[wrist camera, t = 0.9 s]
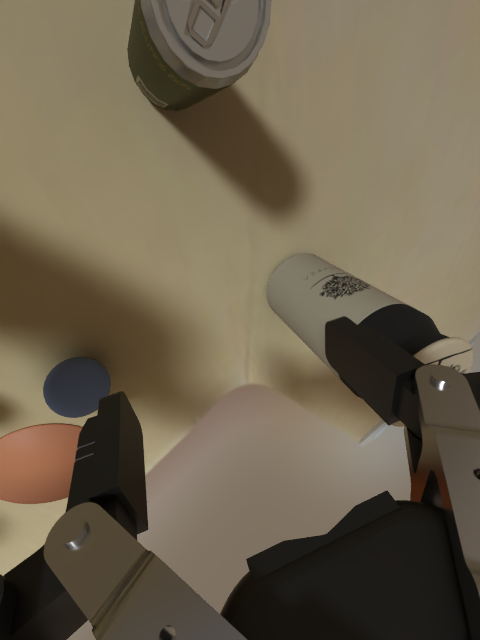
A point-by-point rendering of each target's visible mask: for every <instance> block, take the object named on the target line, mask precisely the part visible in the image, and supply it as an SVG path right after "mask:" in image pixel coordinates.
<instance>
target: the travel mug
mask: <svg viewBox="0 0 480 640" xmlns="http://www.w3.org/2000/svg"><path fill="white" fill-rule="evenodd" d="M267 299H268V303H269V305H270V307H271V309H272V310H273V311H274V312H275V313H276V314H277V315H278V316H279V317H280V318H281V319H282V320H283V321H284V322H285V323H286V324H287V325H288V327H289V328H290V329H291V330H292V331H293V332H294V333H295V334H296V335H297V336H298V337H299V338H300V339H301V340H302V341H303V342H304V343H305V344H306V345H307V346H308V347H309V348H310V349H311V350H312V351H313V352H314V353H315V354H316V355H317V356H318V357H319V358H320V359H321V360H322V361H323V362H324V363H325V364H326V365H327V366H328V367H329V368H330V369H331V370H332V371H333V372H334V373H335V374H336V375H337V376H338V377H339V378H340V380H341V381H342V382H343V383H344V384H345V385H346V386H347V387H348V388H349V389H350V390H351V391H352V392H353V393H354V394H355V395H357V396H358V397H360V396H359V395H358V393H357V392H356V391H355V390H354V389H353V388H352V387H351V386H350V385H349V384H348V383H347V382H346V381H345V380H344V379H343V378H342V377H341V376H340V375H339V374H338V373H337V372H336V371H335V370H334V369H333V368H332V367H331V365H330V364H329V362H328V360H327V358H326V354H325V324H326V322H328V321H331V320H334V319H337V318H340V317H343V316H346V317H348V318H349V319H350V320H352V321H353V322H354V323H356V324H357V325H358V324H363V325H365V326H368V327H371V328H374V329H375V330H377V331H378V332H380V333H381V334H382V335H384V337H387V338H388V339H390V340H391V341H392V342H393V343H395V344H397V345H398V346H400V347H401V348H402V349H404V350H405V351H407V352H408V353H410V354H411V355H412V356H414V357H415V358H417V359H418V360H420V361H421V362H422V363H424V364H425V365H429V364H437V365H443V366H447V367H450V368H452V369H455V370H456V371H458V372H460V373H461V374H465V373H469V372H470V370H471V367H472V364H473V357H474V354H473V348H472V346H471V345H470V344H469V342H467V341H466V340H464V339H462V338H456V337H451V338H450V337H447V336H445V335H442V334H440V332H439V331H438V329H437V327H436V325H435V324H434V322H433V320H432V319H431V318H430V317H429V316H427V315H426V314H424V313H422V312H420V311H418V310H416V309H415V308H413V307H411V306H409V305H407V304H405V303H403V302H401V301H400V300H398V299H396V298H394V297H392V296H390V295H388V294H386V293H385V292H383V291H381V290H379V289H377V288H375V287H373V286H372V285H370V284H368V283H366V282H364V281H362V280H360V279H358V278H357V277H355V276H353V275H351V274H349V273H347V272H345V271H343V270H342V269H340V268H338V267H336V266H334V265H332V264H330V263H329V262H327V261H325V260H323V259H321V258H319V257H317V256H315V255H313V254H306V253H304V254H298V255H295V256H292V257H290V258H289V259H287V260H285V261H284V262H283V263H282V264H281V265H280V266H279V267H278V268H277V269H276V270H275V272H274V273H273V275H272V277H271V279H270V281H269V284H268V289H267ZM360 398H361V397H360ZM391 425H394V426H405V425H404V424H403V423H402V422H401V421H398V422H396V423H393V424H391Z"/></svg>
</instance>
